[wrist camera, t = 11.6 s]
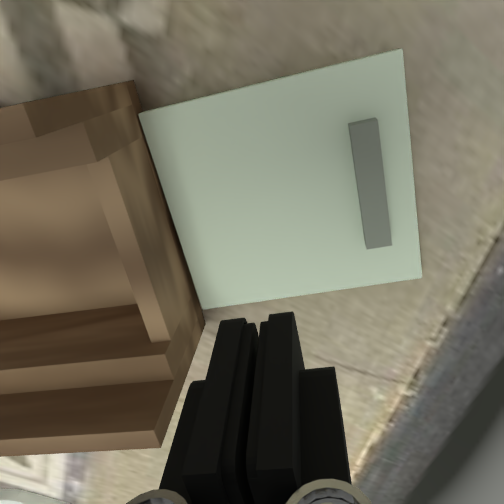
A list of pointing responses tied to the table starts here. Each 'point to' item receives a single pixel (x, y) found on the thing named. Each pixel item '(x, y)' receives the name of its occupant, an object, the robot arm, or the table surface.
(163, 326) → the walnut box
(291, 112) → the lid
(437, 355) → the table surface
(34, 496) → the dish
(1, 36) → the table surface
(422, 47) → the table surface
